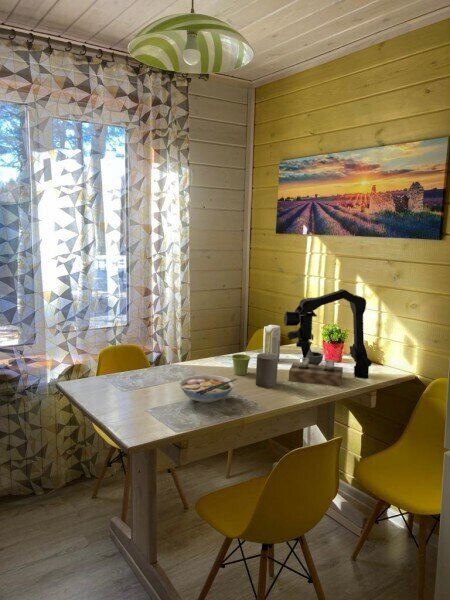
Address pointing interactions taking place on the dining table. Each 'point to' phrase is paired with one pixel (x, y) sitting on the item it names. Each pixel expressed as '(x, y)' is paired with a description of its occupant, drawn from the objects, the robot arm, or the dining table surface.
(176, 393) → the dining table surface
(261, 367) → the pillar candle
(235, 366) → the plant pot
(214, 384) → the ramen bowl
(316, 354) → the mortar and pestle
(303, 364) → the peg far
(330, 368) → the peg near
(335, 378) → the walnut block
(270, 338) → the juice carton
